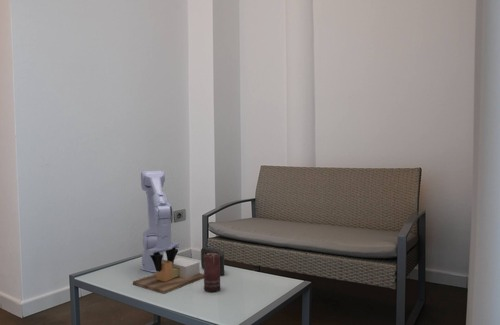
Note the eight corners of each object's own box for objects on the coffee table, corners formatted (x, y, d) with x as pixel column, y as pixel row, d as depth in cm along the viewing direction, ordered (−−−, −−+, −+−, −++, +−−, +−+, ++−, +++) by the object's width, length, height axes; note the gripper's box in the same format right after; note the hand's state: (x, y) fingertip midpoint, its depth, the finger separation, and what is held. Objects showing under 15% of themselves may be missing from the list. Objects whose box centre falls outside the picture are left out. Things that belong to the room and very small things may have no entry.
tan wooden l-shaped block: (156, 279, 163) (156, 262, 163) (182, 270, 174) (181, 254, 174) (165, 281, 160) (164, 264, 160) (190, 272, 171) (190, 256, 171)
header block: (165, 273, 171) (165, 262, 171) (179, 268, 178) (179, 257, 178) (186, 278, 164) (185, 266, 164) (199, 273, 171) (199, 262, 171)
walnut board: (132, 284, 161) (132, 281, 161) (175, 269, 180) (175, 267, 180) (163, 293, 151) (163, 290, 151) (205, 277, 170) (205, 274, 169)
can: (208, 293, 151) (207, 256, 150) (201, 288, 156) (201, 252, 156) (223, 290, 153) (222, 254, 153) (216, 285, 159) (216, 250, 158)
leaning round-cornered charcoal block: (230, 274, 173) (229, 252, 173) (221, 276, 170) (221, 254, 170) (208, 266, 186) (208, 245, 186) (200, 268, 183) (200, 247, 183)
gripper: (156, 240, 154) (157, 275, 155) (183, 233, 166) (184, 266, 166) (144, 237, 158) (145, 272, 159) (171, 231, 170) (172, 263, 171)
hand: (164, 269), depth 163 cm, fingers open, 6 cm apart
